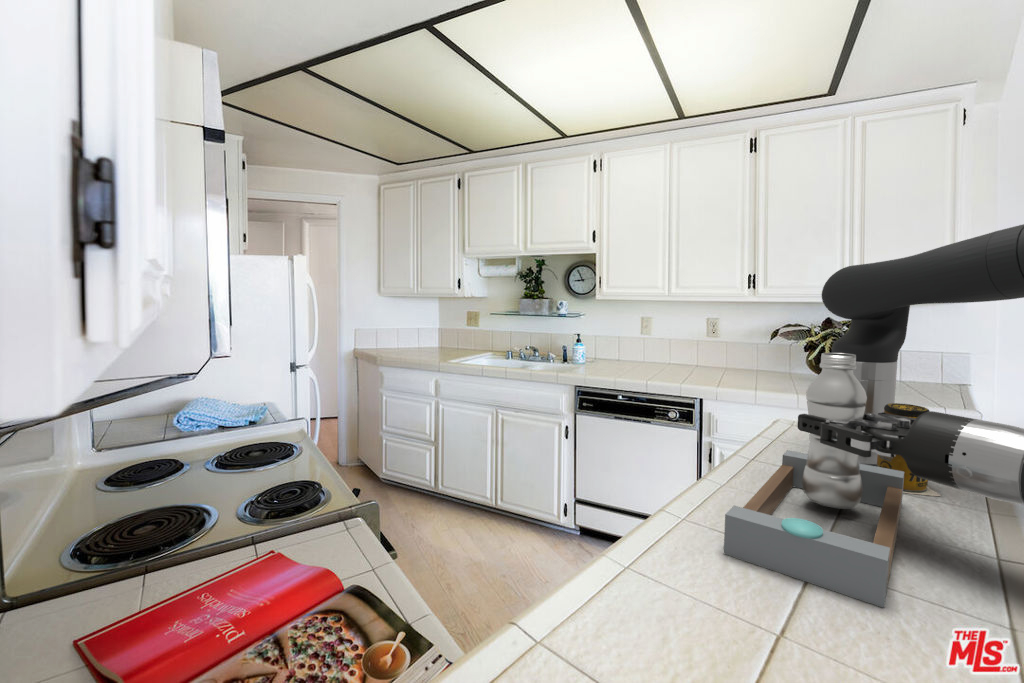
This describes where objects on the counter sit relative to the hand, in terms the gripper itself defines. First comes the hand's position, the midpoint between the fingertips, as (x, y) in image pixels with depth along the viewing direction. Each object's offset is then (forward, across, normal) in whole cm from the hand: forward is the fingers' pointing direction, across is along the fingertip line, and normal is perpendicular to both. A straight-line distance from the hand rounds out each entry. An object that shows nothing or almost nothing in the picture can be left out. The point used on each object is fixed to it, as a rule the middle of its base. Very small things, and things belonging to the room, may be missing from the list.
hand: (816, 418), depth 64 cm
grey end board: (-10, +17, +12) cm, 23 cm away
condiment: (0, -18, +12) cm, 21 cm away
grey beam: (+1, -6, +12) cm, 13 cm away
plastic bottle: (-2, 0, +11) cm, 11 cm away
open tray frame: (-5, +5, +12) cm, 14 cm away
